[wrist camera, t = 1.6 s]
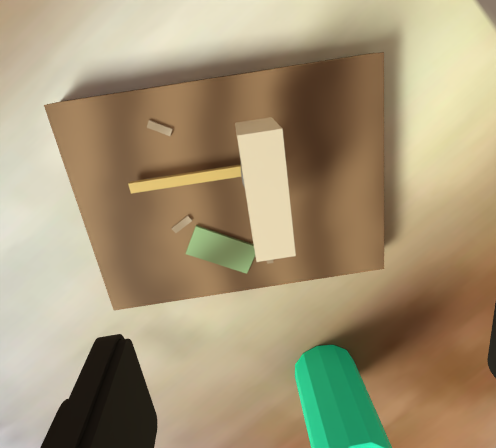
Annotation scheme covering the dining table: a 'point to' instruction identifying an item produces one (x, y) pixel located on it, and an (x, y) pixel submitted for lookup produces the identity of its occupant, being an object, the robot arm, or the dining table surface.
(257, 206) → the wooden toy mallet
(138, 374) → the robot arm
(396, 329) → the dining table surface
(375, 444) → the candle
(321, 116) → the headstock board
